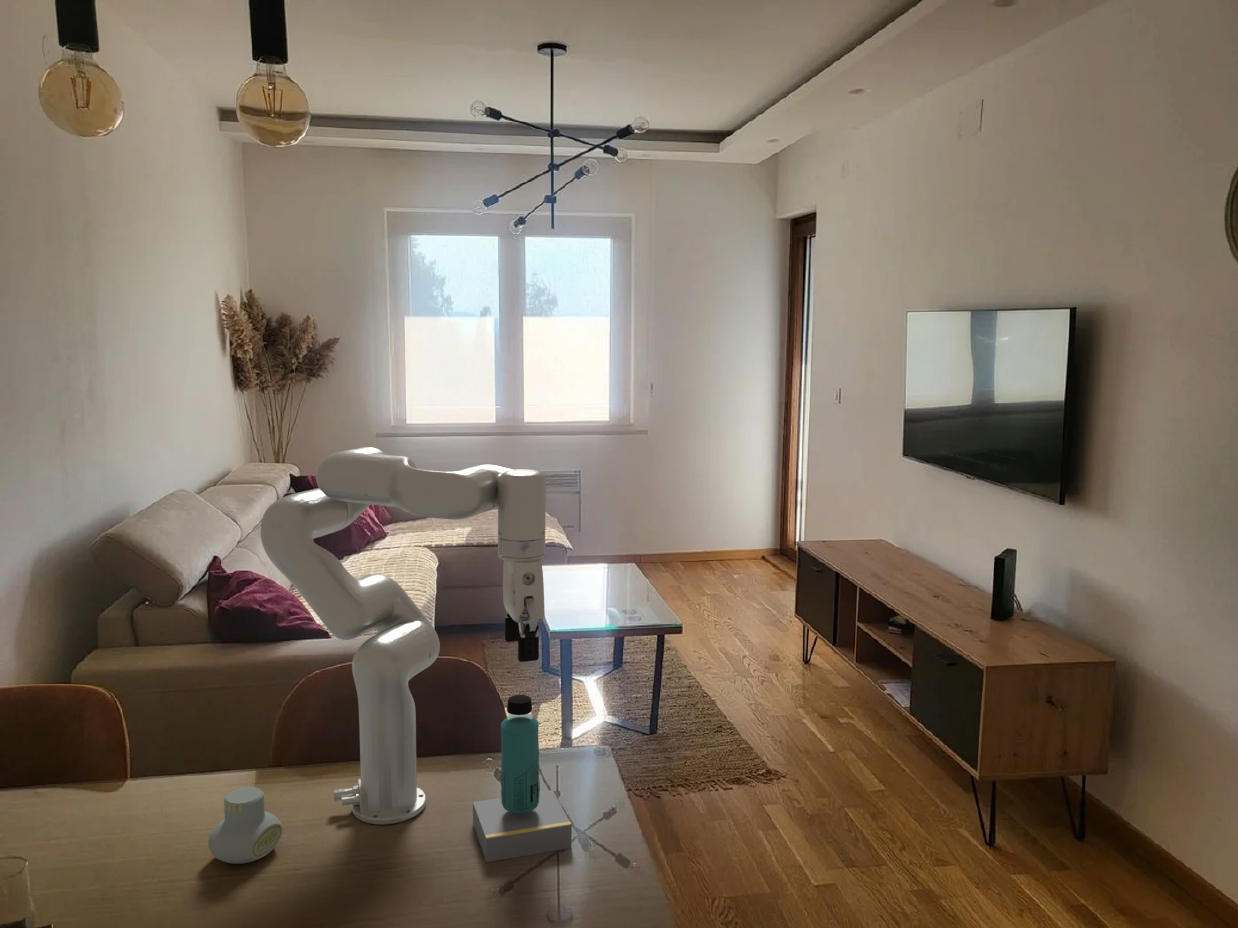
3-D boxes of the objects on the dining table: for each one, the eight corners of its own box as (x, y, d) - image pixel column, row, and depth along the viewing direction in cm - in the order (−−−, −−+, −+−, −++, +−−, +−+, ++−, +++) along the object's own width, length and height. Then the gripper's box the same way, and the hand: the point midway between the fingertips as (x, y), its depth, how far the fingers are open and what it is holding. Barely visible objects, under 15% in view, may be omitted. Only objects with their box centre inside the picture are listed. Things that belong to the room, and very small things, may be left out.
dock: (486, 862, 145) (486, 837, 144) (473, 823, 156) (472, 800, 156) (571, 847, 150) (571, 823, 149) (552, 811, 161) (552, 788, 160)
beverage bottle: (533, 824, 149) (533, 707, 146) (494, 819, 150) (494, 703, 147) (544, 804, 155) (545, 692, 152) (507, 799, 157) (507, 688, 154)
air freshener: (243, 877, 140) (241, 816, 139) (200, 866, 143) (197, 806, 141) (290, 840, 150) (288, 783, 149) (249, 831, 153) (246, 774, 151)
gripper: (558, 558, 139) (557, 666, 142) (531, 534, 155) (531, 631, 158) (510, 561, 137) (509, 671, 139) (487, 536, 153) (488, 635, 155)
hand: (521, 650), depth 148 cm, fingers open, 9 cm apart
